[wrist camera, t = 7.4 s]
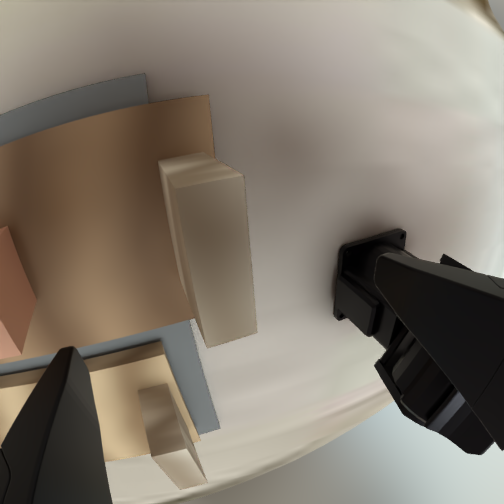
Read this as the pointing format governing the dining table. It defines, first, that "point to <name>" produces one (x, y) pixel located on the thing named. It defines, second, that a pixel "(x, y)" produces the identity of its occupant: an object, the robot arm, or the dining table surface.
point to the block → (13, 299)
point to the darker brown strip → (128, 227)
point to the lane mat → (172, 336)
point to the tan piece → (128, 410)
